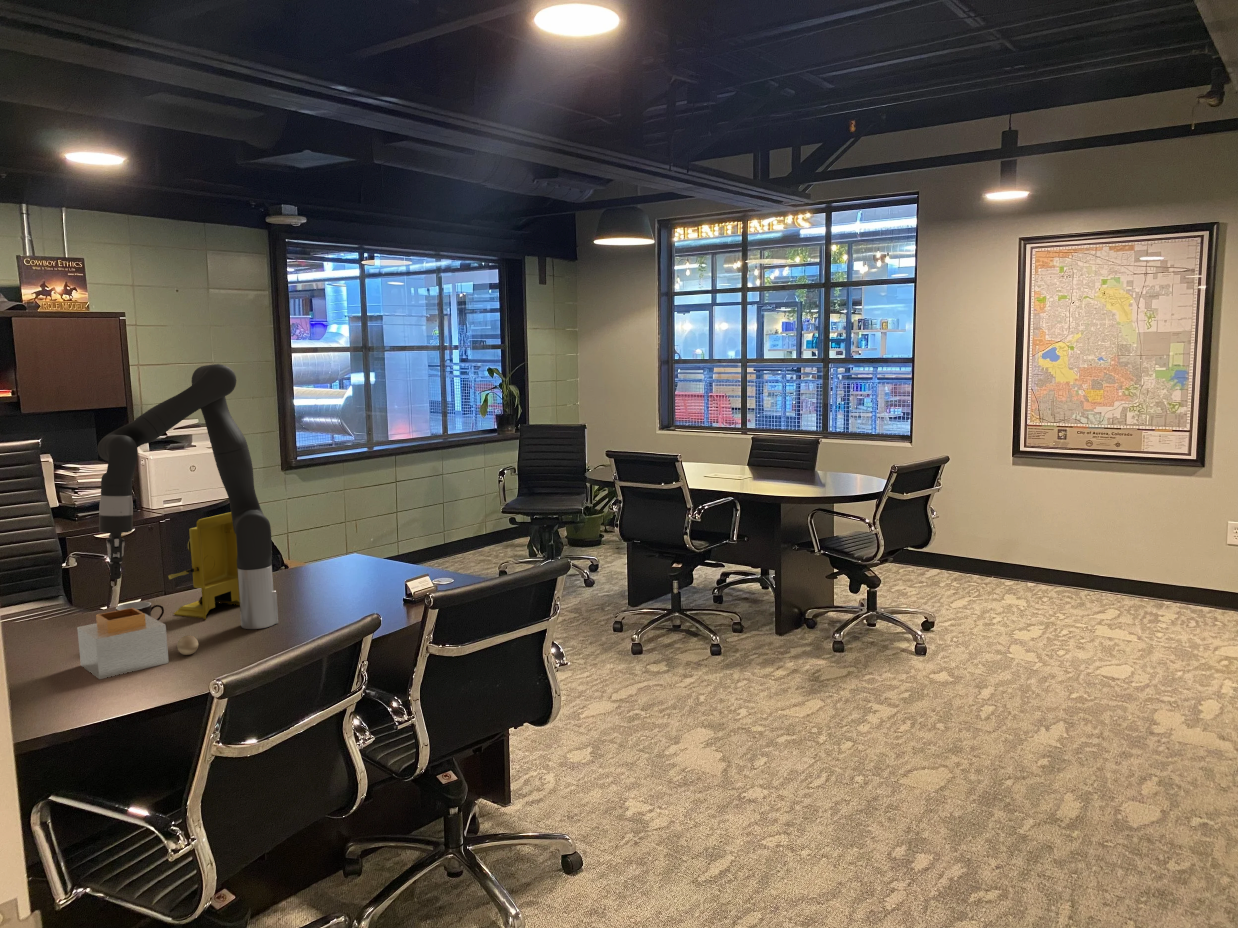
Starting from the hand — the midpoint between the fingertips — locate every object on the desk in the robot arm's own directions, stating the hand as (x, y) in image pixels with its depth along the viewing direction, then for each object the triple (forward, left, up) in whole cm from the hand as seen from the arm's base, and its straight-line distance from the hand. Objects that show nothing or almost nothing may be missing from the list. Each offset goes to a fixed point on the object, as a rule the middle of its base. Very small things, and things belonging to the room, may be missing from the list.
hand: (114, 576), depth 236 cm
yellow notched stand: (-35, -30, -22) cm, 51 cm away
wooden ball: (-13, +9, -22) cm, 27 cm away
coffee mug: (-9, -13, -22) cm, 27 cm away
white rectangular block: (+1, +5, -22) cm, 22 cm away
